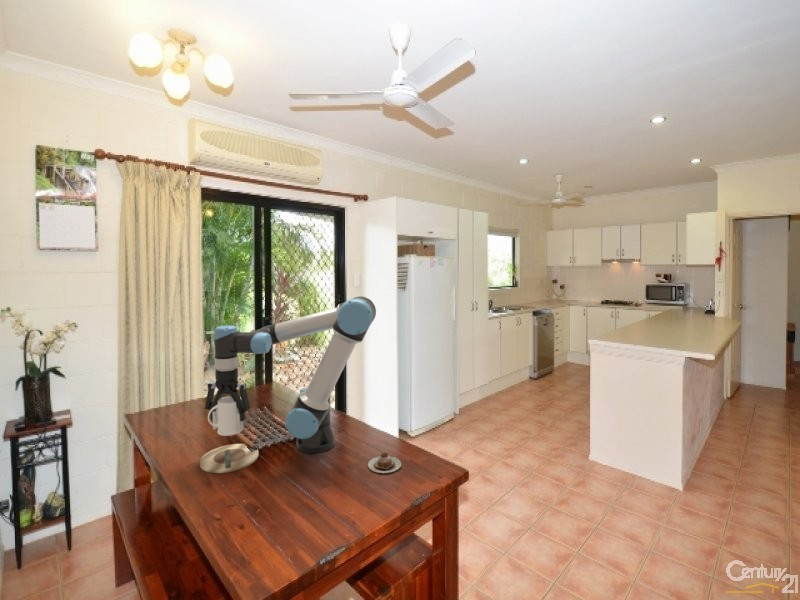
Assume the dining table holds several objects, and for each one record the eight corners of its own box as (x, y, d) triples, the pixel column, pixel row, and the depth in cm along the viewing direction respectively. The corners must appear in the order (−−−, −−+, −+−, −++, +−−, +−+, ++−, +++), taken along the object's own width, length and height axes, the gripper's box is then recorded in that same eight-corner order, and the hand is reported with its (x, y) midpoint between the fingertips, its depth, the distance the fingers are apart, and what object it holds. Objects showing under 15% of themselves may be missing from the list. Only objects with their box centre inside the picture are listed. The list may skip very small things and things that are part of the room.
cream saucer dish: (267, 448, 155) (267, 430, 154) (242, 474, 135) (241, 454, 134) (219, 445, 157) (218, 428, 156) (187, 471, 137) (186, 451, 136)
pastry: (407, 464, 143) (407, 452, 143) (388, 479, 133) (388, 466, 133) (381, 455, 150) (381, 444, 149) (360, 469, 140) (360, 456, 140)
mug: (209, 440, 138) (209, 406, 137) (206, 431, 145) (205, 399, 144) (244, 432, 145) (244, 401, 143) (239, 424, 152) (239, 394, 150)
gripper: (259, 366, 145) (260, 425, 147) (204, 364, 148) (206, 422, 150) (249, 372, 138) (251, 434, 140) (192, 369, 140) (194, 431, 142)
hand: (228, 428), depth 145 cm, fingers closed on mug, 9 cm apart
